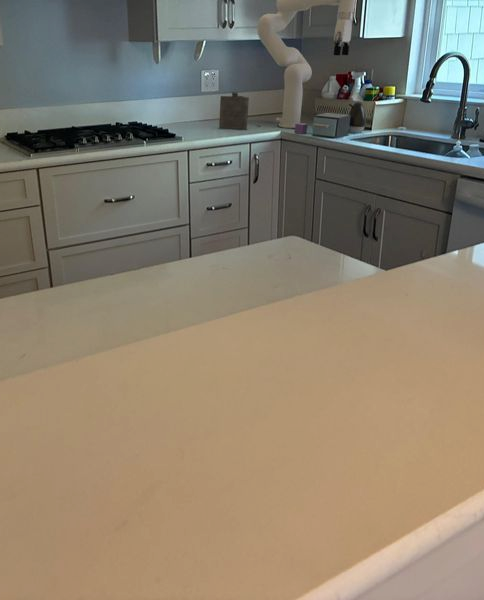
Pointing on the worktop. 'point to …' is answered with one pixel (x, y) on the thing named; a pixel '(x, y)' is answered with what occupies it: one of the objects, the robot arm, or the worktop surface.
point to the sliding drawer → (324, 126)
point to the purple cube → (300, 128)
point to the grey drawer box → (337, 124)
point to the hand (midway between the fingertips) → (340, 55)
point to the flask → (233, 112)
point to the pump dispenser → (357, 117)
